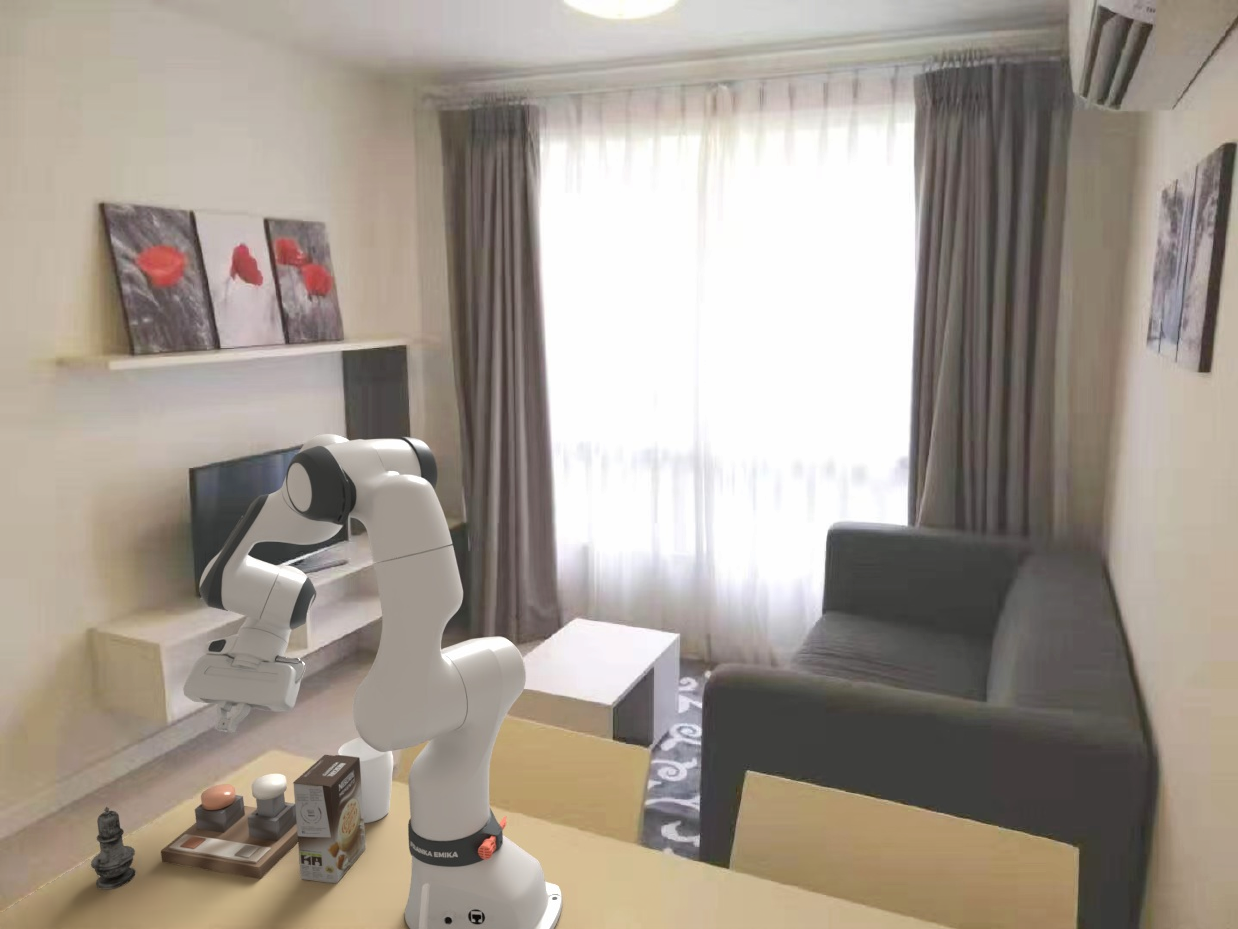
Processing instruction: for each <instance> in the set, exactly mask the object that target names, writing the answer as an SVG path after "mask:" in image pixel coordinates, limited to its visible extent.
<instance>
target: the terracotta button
mask: <svg viewBox="0 0 1238 929" xmlns="http://www.w3.org/2000/svg"><path fill="white" fill-rule="evenodd" d="M236 793H237V792H236V787H235V786H234V785H232V784H225V783H224V784H223V783H222V784H218V785H214V786H211V787H209V788H207V789H205V790H204V791H203V792H202V793H201V794H200V802H201V803H200V804H202V807H203V808H204V809H207V810H217V809H218V810H222V809H223V808H224V807H227V806H229V805H230V804H232V803H233V802H234V801H235V800H236V795H237V794H236Z"/></svg>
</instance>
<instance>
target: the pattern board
mask: <svg viewBox="0 0 1238 929" xmlns="http://www.w3.org/2000/svg"><path fill="white" fill-rule="evenodd" d="M194 814H195V821H196V822H194V823H193V824H192V825H190V827H188V828H187V829H186V830H185V831H183V832H182V833H181V834H180V835H179V836H177V837H176V838H174V839H173V840H172V841H171V842H169V844H167V845H166V846H164V847H163V848H162V849H161V850H160V857H161V862H162V863H165V864H171V865H176V866H177V865H178V866H182V867H183V866H184V867H189V868H194V869H199V870H207V871H211V872H218V873H223V874H230V875H233V876H234V875H235V876H241V877H245V878H252V879H257V880H260V879H262V878H263V877H264V876H265V875H266V874H268V872H269V871H270V870H271V869H273V868H274V866H275V865H277V864H278V863H279V861H280V860H282V858H284V857H285V856H286V854H288V853H289V852H290V851H291V849H293V847H295V846H296V845H297V844H298V834H297V821H296V809H295V802H286V801H285V808H284V809H283V810H282V811H281V812H280V813H279V814H278V815H277V816H275V817H274V818H272V817H265V816H259V815H258V812H257V806H256V807H255V806H247V805H245V803H244V796H243V795H237V794H236V800H235V801H234V802H233V803H232V804H230V805H229V806H227V807H224V808H223V809H222V810H218V809H217V810H207V809H204V808H203V807H202V803H200V804H199V805H198V806H197V807H196V808H195V809H194Z"/></svg>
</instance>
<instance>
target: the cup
mask: <svg viewBox="0 0 1238 929" xmlns="http://www.w3.org/2000/svg"><path fill="white" fill-rule="evenodd" d="M337 751H338V752H337V753H338V754H337V755H343V756H352V757H359V758H360V772H361V787H362V802H363V817H364V824H366V823H367V824H368V823H373V822H376V821H379V820H381V819H383V818H384V817H385V816H386V815H387V814H388V813H389V811H390V806H391V797H392V796H391V794H392V783H393V781H392V780H393V772H394V771H393V769H394V756H393V751H387V752H380V751H377V750H375V749H373V748H372V747H371V746H369V745H368V744H367V743H366V742H365V741H364V740H363V739H362V738H361V737H357V738H354V739H351V740H349V741H346V742H345V743H343V744H342V745H341V746H340V747H339V749H338V750H337Z"/></svg>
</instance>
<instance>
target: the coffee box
mask: <svg viewBox="0 0 1238 929" xmlns="http://www.w3.org/2000/svg"><path fill="white" fill-rule="evenodd" d="M292 784H293V794H294V804H295V809H296V821H297V834H298V843H297V844H298V847H297V848H298V858H299V869H300V871H299V872H300V879H301V880H306V881H314V882H315V881H316V882H322V883H329V884H338V883H339V881H341V879H342V878H343V876H344V875H345V874H346V873H347V872H348V870H349V869H350V868H351V867H352V866H353V865H354V864H355V862H356V861H357V859H358V858H360V857H361V855H362V854H363V853H364V852H365V850H366V836H365V835H366V834H365V823H364V817H363V802H362V787H361V772H360V758H359V757H352V756H343V755H338V754H337V755H331V754H324V755H323V756H322V757H320V758H319V759H318V760H317V761H316V762H315V763H313V764H312V765H311V766H310V767H308V769H307V770H306V771H305V772H303V773H302V774H301V775H300V776H299V777H297V778H296V779H295V780H294V781H293V783H292Z"/></svg>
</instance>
